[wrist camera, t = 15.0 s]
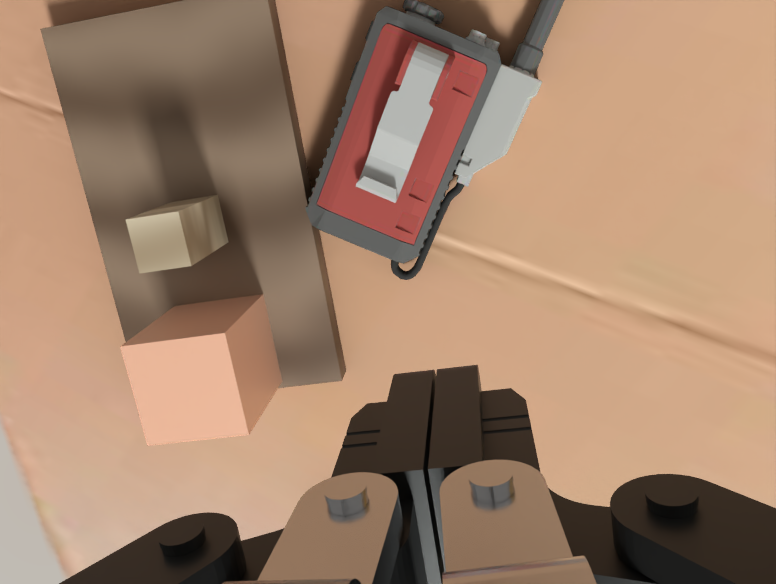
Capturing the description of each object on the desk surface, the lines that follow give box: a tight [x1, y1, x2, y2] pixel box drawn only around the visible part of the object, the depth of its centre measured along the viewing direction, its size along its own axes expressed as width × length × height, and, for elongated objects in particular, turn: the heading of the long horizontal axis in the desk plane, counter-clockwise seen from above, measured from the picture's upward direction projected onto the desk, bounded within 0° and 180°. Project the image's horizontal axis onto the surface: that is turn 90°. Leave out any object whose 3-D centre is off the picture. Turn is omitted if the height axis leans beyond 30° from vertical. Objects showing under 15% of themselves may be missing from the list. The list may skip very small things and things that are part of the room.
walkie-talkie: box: [305, 0, 564, 280], centre depth 35 cm, size 9×4×20 cm
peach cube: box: [120, 294, 282, 446], centre depth 37 cm, size 5×5×7 cm
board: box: [41, 0, 346, 388], centre depth 36 cm, size 21×12×7 cm, turn 9°
